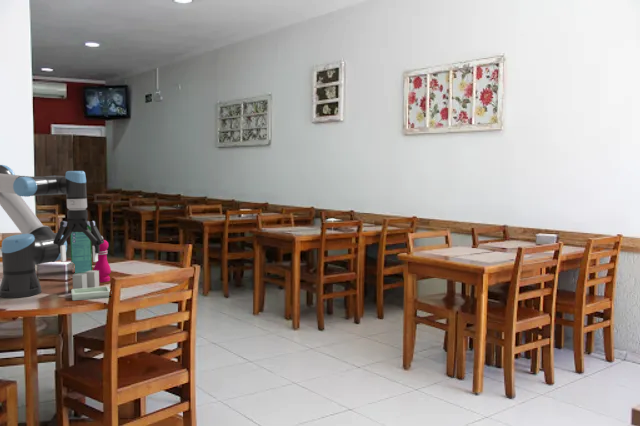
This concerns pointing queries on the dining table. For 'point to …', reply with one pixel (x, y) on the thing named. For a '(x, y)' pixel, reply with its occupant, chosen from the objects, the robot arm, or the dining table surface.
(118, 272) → the dining table surface
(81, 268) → the milk carton
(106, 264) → the pepper mill
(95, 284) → the stone
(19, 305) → the dining table surface
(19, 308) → the dining table surface
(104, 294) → the bin
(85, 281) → the stone
